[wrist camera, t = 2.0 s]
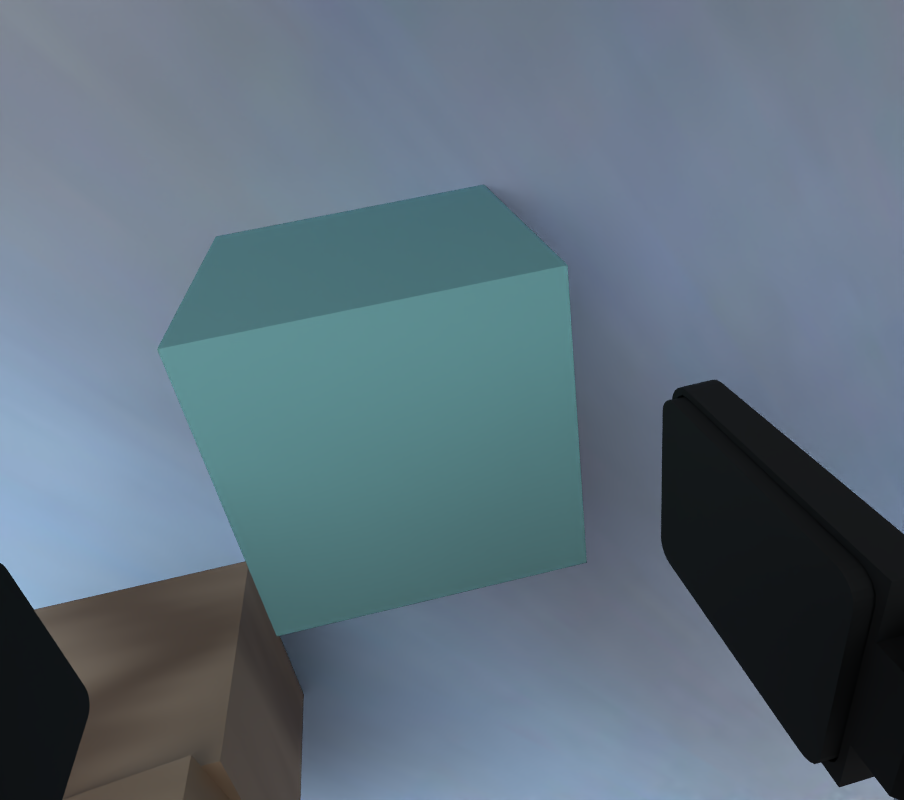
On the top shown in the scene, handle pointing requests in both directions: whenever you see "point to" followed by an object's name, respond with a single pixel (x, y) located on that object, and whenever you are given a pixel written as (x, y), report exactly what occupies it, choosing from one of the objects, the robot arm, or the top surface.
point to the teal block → (385, 404)
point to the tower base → (184, 684)
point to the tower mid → (161, 785)
